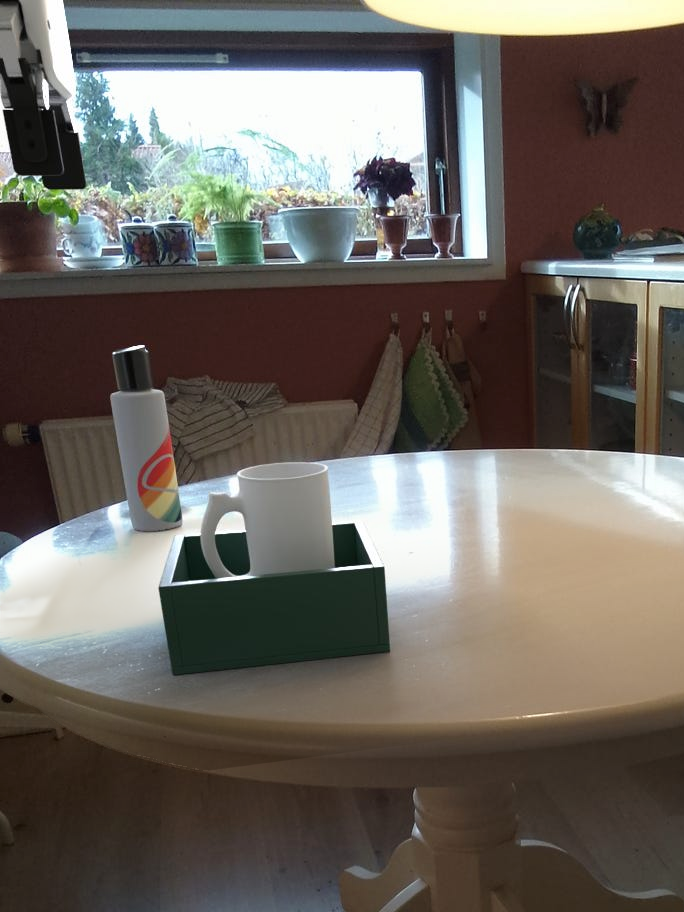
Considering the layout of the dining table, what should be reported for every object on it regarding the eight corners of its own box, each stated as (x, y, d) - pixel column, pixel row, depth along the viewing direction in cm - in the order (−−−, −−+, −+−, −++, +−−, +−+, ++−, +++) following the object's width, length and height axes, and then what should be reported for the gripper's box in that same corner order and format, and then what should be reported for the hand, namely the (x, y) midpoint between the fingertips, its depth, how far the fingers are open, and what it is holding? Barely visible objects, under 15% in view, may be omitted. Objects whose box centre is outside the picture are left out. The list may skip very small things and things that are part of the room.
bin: (172, 675, 66) (158, 586, 63) (185, 610, 79) (174, 535, 76) (390, 651, 69) (384, 566, 66) (368, 592, 82) (362, 520, 80)
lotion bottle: (189, 526, 107) (162, 345, 99) (138, 534, 104) (107, 349, 97) (176, 517, 111) (149, 343, 104) (127, 524, 108) (96, 347, 101)
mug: (330, 601, 78) (316, 459, 74) (351, 625, 72) (338, 473, 68) (208, 619, 75) (186, 471, 70) (219, 647, 69) (197, 487, 64)
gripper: (-21, -56, 70) (25, 194, 76) (-100, -156, 54) (-34, 169, 60) (84, -51, 72) (121, 193, 78) (36, -147, 56) (88, 168, 62)
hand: (53, 182), depth 69 cm, fingers open, 9 cm apart
